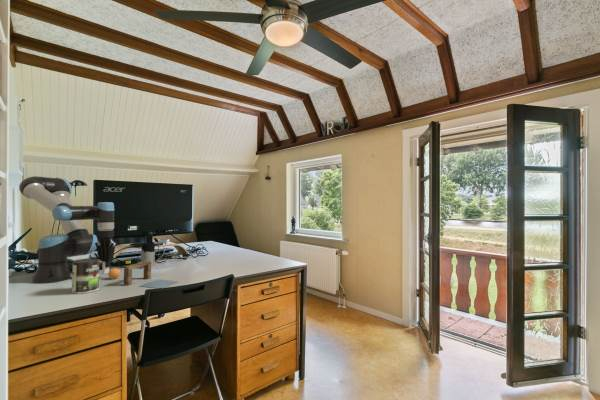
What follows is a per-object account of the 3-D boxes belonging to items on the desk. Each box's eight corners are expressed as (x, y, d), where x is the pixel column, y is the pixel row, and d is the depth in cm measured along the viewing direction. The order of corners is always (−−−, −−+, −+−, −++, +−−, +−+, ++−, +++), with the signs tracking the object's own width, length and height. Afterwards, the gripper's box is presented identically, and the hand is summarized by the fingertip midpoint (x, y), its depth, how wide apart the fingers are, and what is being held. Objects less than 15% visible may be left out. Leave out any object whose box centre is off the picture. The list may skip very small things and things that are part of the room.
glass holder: (140, 266, 184) (141, 243, 185) (164, 264, 190) (165, 242, 191) (139, 269, 176) (139, 245, 177) (164, 267, 182) (165, 244, 183)
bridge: (123, 284, 143) (123, 266, 143) (146, 277, 157) (146, 261, 157) (128, 285, 142) (128, 267, 142) (150, 278, 156) (151, 261, 156)
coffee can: (104, 288, 137) (105, 259, 137) (84, 294, 127) (85, 263, 127) (86, 286, 139) (87, 257, 139) (65, 292, 129) (66, 261, 129)
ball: (105, 279, 152) (105, 269, 152) (114, 276, 157) (115, 267, 157) (113, 280, 150) (113, 270, 150) (122, 277, 156) (122, 267, 156)
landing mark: (139, 286, 141) (139, 285, 141) (158, 279, 154) (158, 279, 154) (160, 288, 137) (160, 288, 137) (178, 281, 150) (178, 281, 150)
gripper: (90, 230, 154) (90, 274, 154) (108, 230, 151) (108, 275, 150) (103, 229, 161) (103, 271, 161) (121, 229, 158) (121, 272, 157)
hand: (105, 273), depth 155 cm, fingers closed
